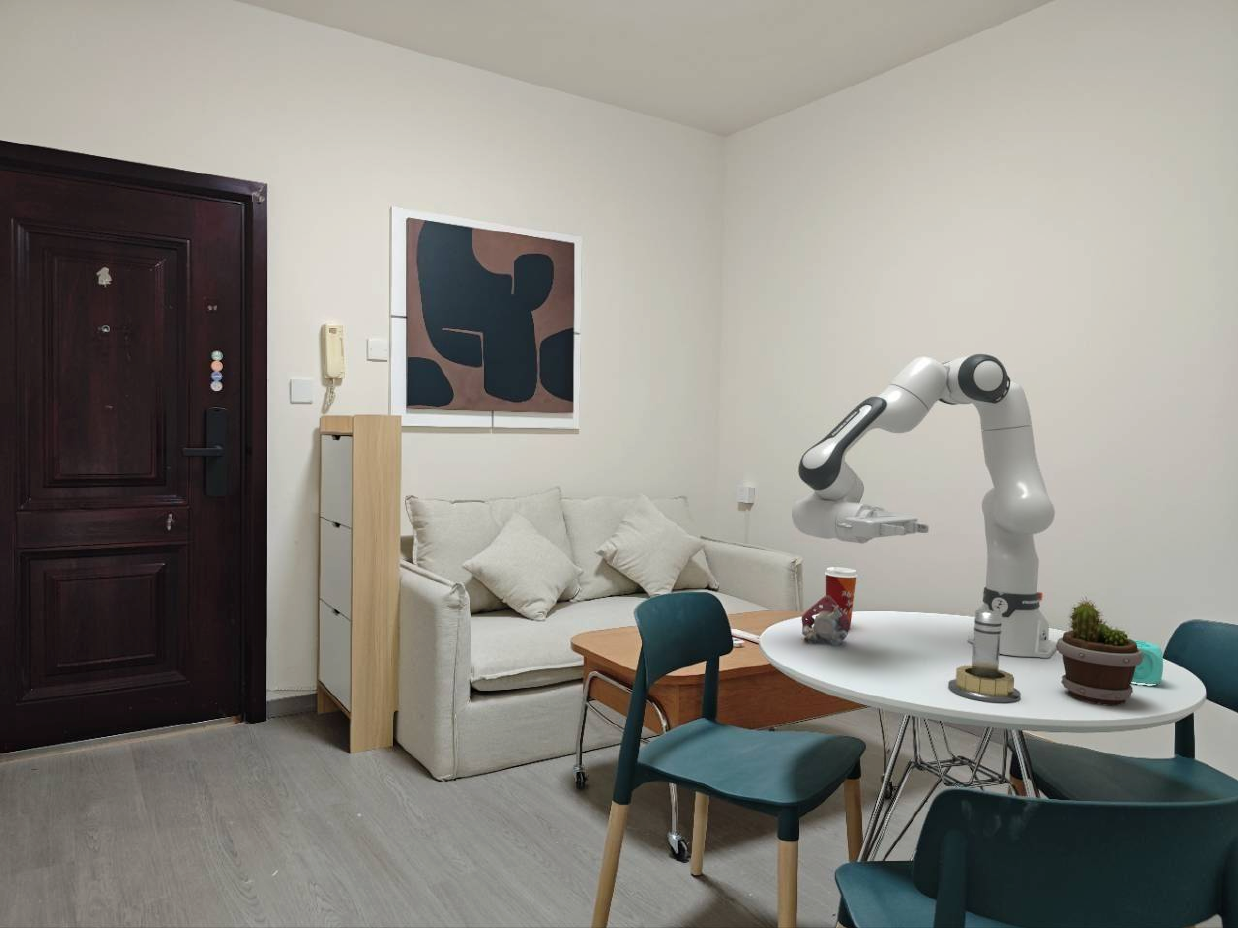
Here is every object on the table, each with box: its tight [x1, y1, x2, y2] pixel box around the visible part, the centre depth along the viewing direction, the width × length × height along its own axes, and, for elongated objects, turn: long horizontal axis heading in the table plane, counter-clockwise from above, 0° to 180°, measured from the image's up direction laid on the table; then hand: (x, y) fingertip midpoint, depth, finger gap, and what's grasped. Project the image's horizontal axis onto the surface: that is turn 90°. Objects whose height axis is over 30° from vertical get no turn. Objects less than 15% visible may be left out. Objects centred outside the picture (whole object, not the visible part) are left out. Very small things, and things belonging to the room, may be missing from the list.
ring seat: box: [947, 665, 1022, 704], centre depth 167 cm, size 13×13×4 cm
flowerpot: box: [1056, 597, 1144, 706], centre depth 167 cm, size 14×15×20 cm
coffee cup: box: [824, 566, 859, 630], centre depth 218 cm, size 8×8×15 cm
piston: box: [971, 609, 1002, 679], centre depth 167 cm, size 5×5×15 cm
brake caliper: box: [800, 594, 852, 647], centre depth 202 cm, size 11×11×12 cm
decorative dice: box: [1130, 638, 1164, 685], centre depth 181 cm, size 8×8×8 cm
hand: (916, 530), depth 180 cm, fingers open, 8 cm apart
